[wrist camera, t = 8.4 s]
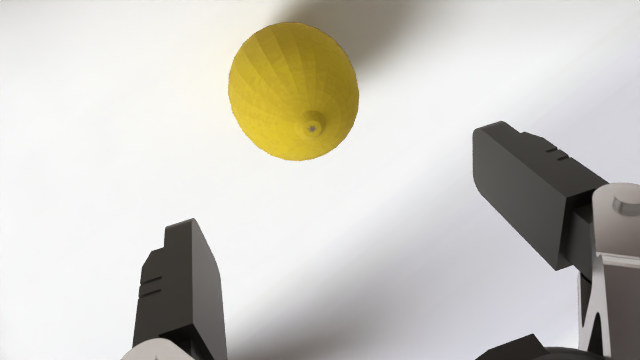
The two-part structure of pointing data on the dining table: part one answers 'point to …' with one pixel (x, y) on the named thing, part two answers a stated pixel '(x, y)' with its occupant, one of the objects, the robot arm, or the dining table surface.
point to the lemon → (293, 91)
